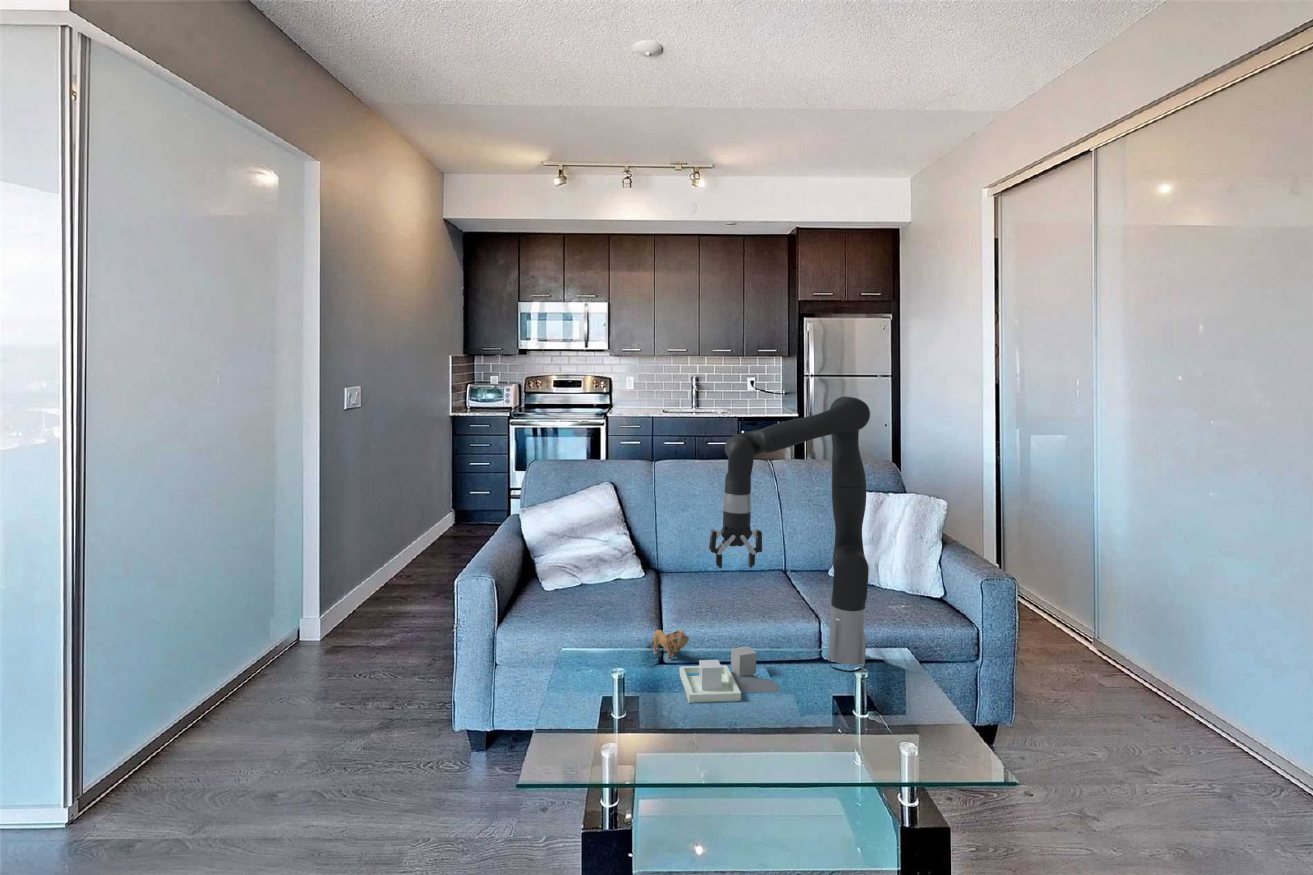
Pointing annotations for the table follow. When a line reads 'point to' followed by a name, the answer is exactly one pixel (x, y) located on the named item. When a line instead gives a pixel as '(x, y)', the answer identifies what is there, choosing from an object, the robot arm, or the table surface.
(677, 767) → the table surface
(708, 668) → the stone block
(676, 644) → the lion figurine
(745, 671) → the stone block
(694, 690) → the sage tray
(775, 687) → the slate mat
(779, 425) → the robot arm
